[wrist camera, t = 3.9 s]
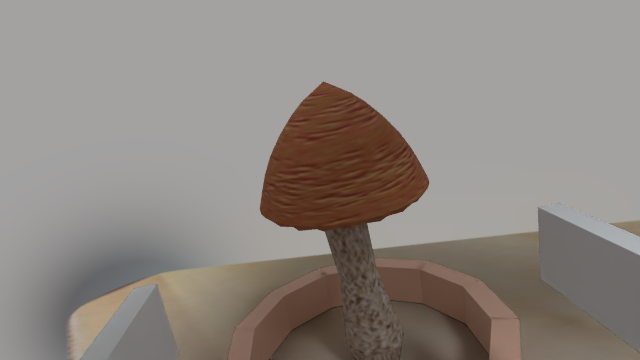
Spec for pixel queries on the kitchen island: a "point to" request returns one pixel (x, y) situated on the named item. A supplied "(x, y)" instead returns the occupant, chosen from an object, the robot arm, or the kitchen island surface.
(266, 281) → the kitchen island surface
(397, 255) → the kitchen island surface
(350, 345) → the mushroom
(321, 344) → the kitchen island surface
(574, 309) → the kitchen island surface
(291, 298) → the ring
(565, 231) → the robot arm
